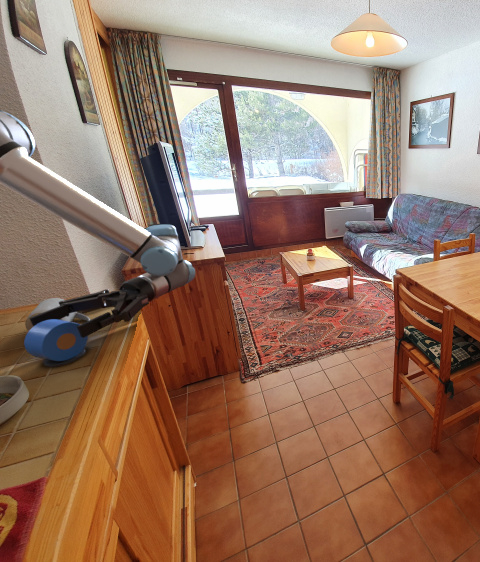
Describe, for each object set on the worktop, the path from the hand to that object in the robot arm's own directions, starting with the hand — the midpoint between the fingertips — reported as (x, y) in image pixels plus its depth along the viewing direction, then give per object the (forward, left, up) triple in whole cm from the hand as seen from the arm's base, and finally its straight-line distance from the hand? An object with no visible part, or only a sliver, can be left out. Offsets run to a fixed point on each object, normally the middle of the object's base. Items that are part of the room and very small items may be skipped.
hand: (55, 327), depth 67 cm
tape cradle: (-17, +22, -7) cm, 29 cm away
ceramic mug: (-13, +10, -8) cm, 18 cm away
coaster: (0, -1, -7) cm, 8 cm away
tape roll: (0, -1, -7) cm, 7 cm away
